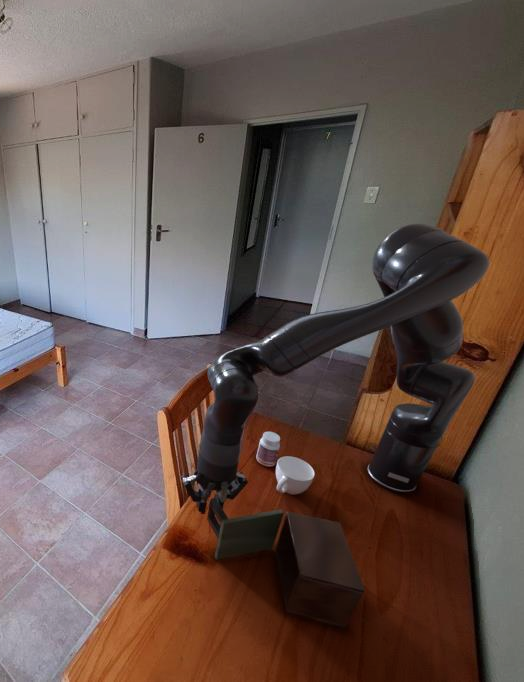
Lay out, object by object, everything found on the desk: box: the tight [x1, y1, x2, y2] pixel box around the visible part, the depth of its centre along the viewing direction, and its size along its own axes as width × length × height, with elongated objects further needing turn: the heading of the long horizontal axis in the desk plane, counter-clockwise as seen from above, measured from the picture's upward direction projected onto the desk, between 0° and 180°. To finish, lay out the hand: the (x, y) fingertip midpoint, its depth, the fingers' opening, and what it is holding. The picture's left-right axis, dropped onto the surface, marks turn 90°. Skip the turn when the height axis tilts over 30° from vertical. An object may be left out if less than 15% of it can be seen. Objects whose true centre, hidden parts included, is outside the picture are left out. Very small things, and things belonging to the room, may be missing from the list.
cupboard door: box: [206, 497, 285, 561], centre depth 76 cm, size 7×13×11 cm, turn 99°
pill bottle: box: [255, 431, 281, 467], centre depth 96 cm, size 5×5×8 cm
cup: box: [275, 455, 316, 496], centre depth 87 cm, size 8×10×7 cm
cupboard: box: [274, 511, 366, 630], centre depth 67 cm, size 9×13×12 cm
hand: (208, 509), depth 79 cm, fingers closed
